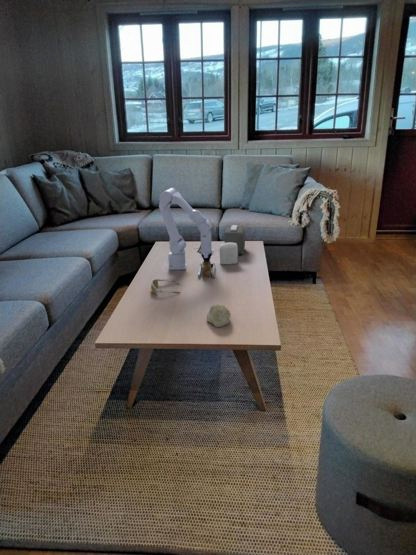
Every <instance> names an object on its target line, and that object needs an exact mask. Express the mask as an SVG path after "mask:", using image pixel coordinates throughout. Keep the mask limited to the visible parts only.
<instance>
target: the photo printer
mask: <svg viewBox="0 0 416 555" xmlns="http://www.w3.org/2000/svg"><path fill="white" fill-rule="evenodd" d="M238 256H239V255H238V247H237V244H236V243H231V242H229V243H225V242H224V243H221V244H219V264H220V265H233V264H234V265H235V264H238V262H239V261H238V259H239V258H238Z"/></svg>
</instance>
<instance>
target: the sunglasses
mask: <svg viewBox="0 0 416 555" xmlns="http://www.w3.org/2000/svg"><path fill="white" fill-rule="evenodd" d="M159 282H169V283H174V284H177V285H179V286H180V285H181V283H179V282H177V281H174V280H170V279H161V278H160V279H159V278H153V279H152V280H151V281H150V283H151V285H150V289H151V292H152V293H153V294H154V295H155V294H156V295H155V296H158V295H159V293H168V294H169V293H171V294H181V293H182V292H180V291H174V290H171V291H170V290H169V291H168V290H162V289H159V288H157V287H158V286H159ZM156 286H157V287H156ZM158 292H159V293H158Z"/></svg>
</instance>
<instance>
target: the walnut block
mask: <svg viewBox="0 0 416 555" xmlns="http://www.w3.org/2000/svg"><path fill="white" fill-rule="evenodd" d="M211 263H212V262H211V261H210V262H204V261H202V262H201V264H202V270H201V277H202V278H212V277H211V275H212V269H211Z"/></svg>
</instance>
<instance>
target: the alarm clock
mask: <svg viewBox="0 0 416 555" xmlns="http://www.w3.org/2000/svg"><path fill="white" fill-rule="evenodd" d="M223 240H224V243H229V242H231V243H236V244H237V247H238V256H239V255H242V254H243V253H244V252H245V251H244V250H245V246H246V231H245V228H244V226H238V225H237V224H231V226H226V227H225V230H224V239H223Z"/></svg>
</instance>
